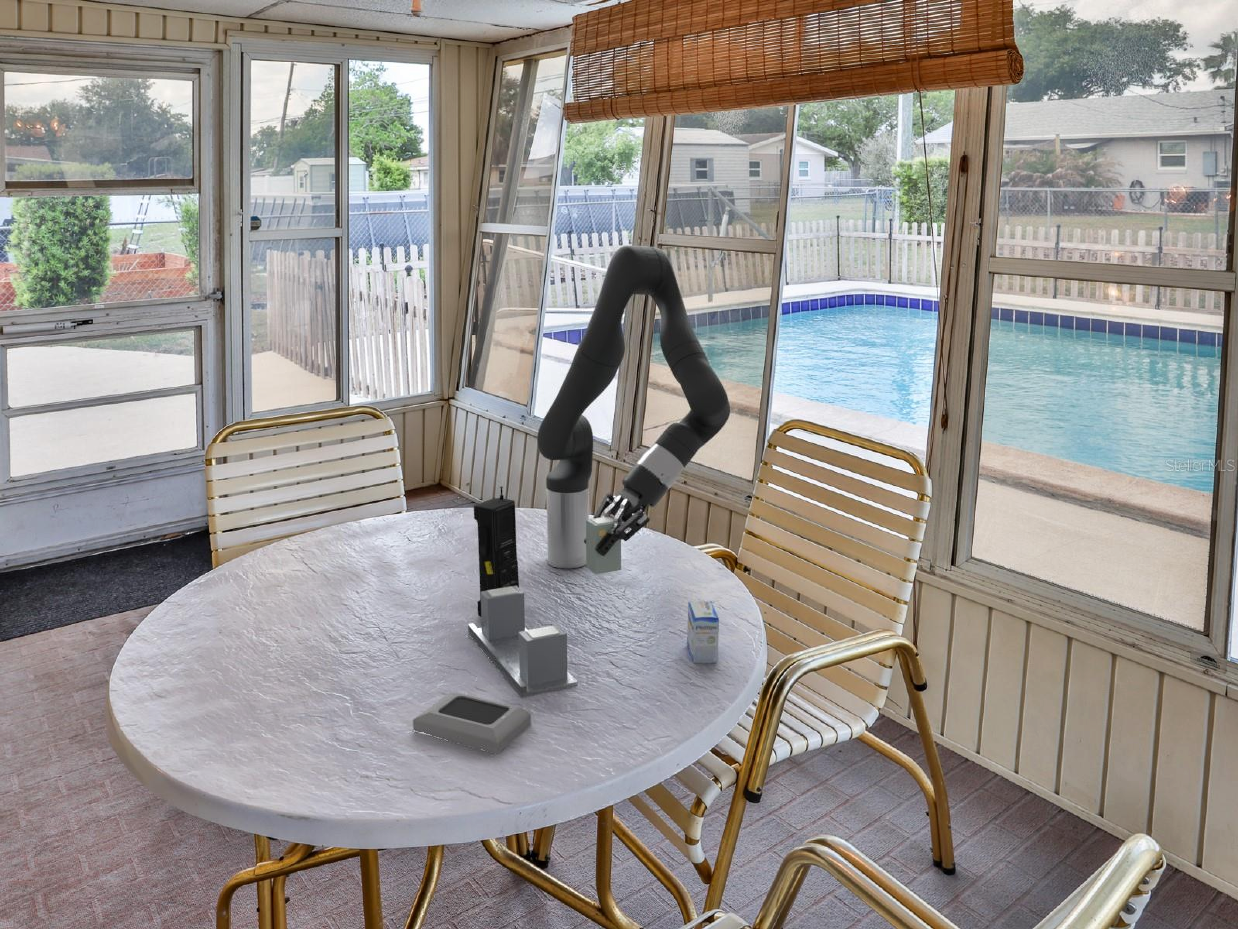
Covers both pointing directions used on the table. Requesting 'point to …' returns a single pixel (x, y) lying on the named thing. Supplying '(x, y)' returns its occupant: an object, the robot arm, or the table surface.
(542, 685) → the rail
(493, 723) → the grey flat block
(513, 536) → the portable radio
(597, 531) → the block
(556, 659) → the mounted modules
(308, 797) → the table surface
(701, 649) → the medicine box
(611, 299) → the robot arm
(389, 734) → the table surface
